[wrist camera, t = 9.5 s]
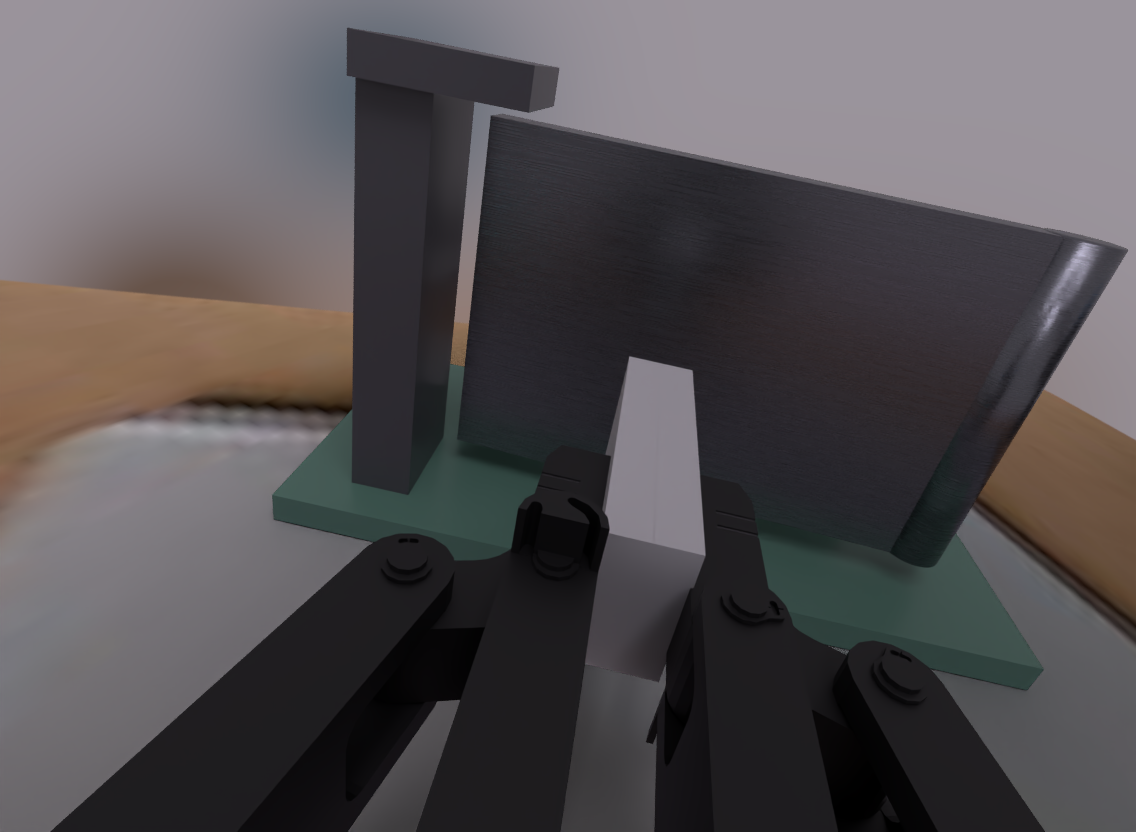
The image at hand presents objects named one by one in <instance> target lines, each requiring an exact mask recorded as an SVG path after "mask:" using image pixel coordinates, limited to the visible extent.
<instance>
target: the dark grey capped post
mask: <svg viewBox="0 0 1136 832" xmlns="http://www.w3.org/2000/svg"><path fill="white" fill-rule="evenodd" d="M558 73H559V68H557V67H552V66H547V65H542V64H537V63H531V62H527V61H522V60H517V59H512V58H507V57H502V56H497V55H493V54H487V53H483V52H478V51H474V50H469V49H464V48H459V47H454V46H449V45H444V44H439V43H434V42H429V41H424V40H419V39H414V38H409V37H402V36H396V35H390V34H384V33H377V32H371V31H365V30H359V29H352V28H347V76H352V77H356V92H355V97H356V98H355V195H354V198H355V199H354V203H355V204H354V299H353V305H354V306H353V403H352V483H356V484H361V485H365V486H370V487H374V488H379V489H383V490H387V491H392V492H396V493H401V494H405V495H409V493H410V491H411V490H412V488H413V486H414V485H415V483H416V481H417V480H418V478H419V476H420V475H421V473H422V472H423V470H424V468H425V467H426V465H427V463H428V462H429V460H430V458H431V457H432V455H433V453H434V452H435V450H436V449H437V447H438V445H439V444H440V442H441V440H442V439H443V436H444V425H445V414H446V403H447V392H448V382H449V371H450V360H451V349H452V338H453V327H454V316H455V306H456V295H457V284H458V273H459V262H460V251H461V241H462V230H463V219H464V208H465V197H466V186H467V175H468V163H469V154H470V143H471V132H472V121H473V111H474V102H479V103H484V104H489V105H494V106H499V107H504V108H508V109H513V110H518V111H523V112H528V113H529V112H533V111H537V110H541V109H545V108H549V107H552V106H554V101H555V94H556V87H557V80H558Z"/></svg>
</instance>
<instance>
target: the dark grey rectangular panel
mask: <svg viewBox="0 0 1136 832" xmlns="http://www.w3.org/2000/svg"><path fill="white" fill-rule="evenodd" d="M1127 252H1128V249H1126V248H1124V247H1121V246H1118V245H1115V244H1112V243H1109V242H1105V241H1102V240H1098V239H1094V238H1091V237H1086V236H1083V235H1078V234H1074V233H1070V232H1065V231H1060V230H1054V229H1048V228H1040V227H1035V226H1030V225H1025V224H1021V223H1016V222H1011V221H1007V220H1002V219H997V218H992V217H987V216H983V215H978V214H974V213H969V212H964V211H959V210H955V209H950V208H945V207H940V206H935V205H931V204H926V203H922V202H917V201H911V200H907V199H903V198H898V197H893V196H888V195H884V194H879V193H874V192H869V191H865V190H860V189H855V188H851V187H846V186H841V185H836V184H831V183H827V182H822V181H817V180H812V179H808V178H803V177H799V176H794V175H789V174H784V173H780V172H775V171H770V170H765V169H761V168H756V167H751V166H746V165H742V164H737V163H732V162H728V161H723V160H718V159H713V158H709V157H704V156H699V155H694V154H690V153H685V152H680V151H676V150H671V149H666V148H661V147H657V146H652V145H647V144H642V143H638V142H633V141H628V140H623V139H619V138H614V137H609V136H604V135H600V134H595V133H590V132H586V131H581V130H576V129H571V128H567V127H562V126H557V125H553V124H547V123H543V122H538V121H533V120H529V119H524V118H519V117H515V116H510V115H505V114H499V115H492V116H491V120H490V129H489V139H488V149H487V158H486V167H485V177H484V187H483V196H482V205H481V215H480V225H479V234H478V244H477V253H476V263H475V273H474V282H473V291H472V301H471V311H470V320H469V330H468V339H467V349H466V358H465V368H464V377H463V387H462V396H461V406H460V415H459V425H458V434H457V440H461V441H465V442H468V443H472V444H476V445H480V446H484V447H488V448H491V449H495V450H499V451H503V452H507V453H511V454H514V455H518V456H522V457H526V458H530V459H534V460H537V461H541V462H545V461H546V458H547V456H548V455H549V454H550V453H552V452H553V451H554V450H556V449H557V448H558V447H560V446H561V445H565V446H570V447H574V448H578V449H583V450H587V451H591V452H596V453H600V454H604V455H605V454H606V450H607V446H608V442H609V438H610V434H611V430H612V426H613V421H614V417H615V413H616V409H617V405H618V401H619V397H620V393H621V389H622V385H623V381H624V376H625V372H626V368H627V364H628V360H629V356H630V357H635V358H639V359H644V360H648V361H653V362H657V363H662V364H666V365H671V366H675V367H680V368H684V369H689V370H693V384H694V399H695V413H696V427H697V441H698V456H699V470H700V475H704V476H708V477H713V478H717V479H721V480H726V481H730V482H734V483H739V485H740V486H741V487H742V489H743V490H744V491H745V493H746V494H747V495H748V497H749V498H750V499H751V501H752V503H753V508H754V514H755V517H756V518H760V519H763V520H767V521H771V522H775V523H779V524H783V525H786V526H790V527H794V528H798V529H802V530H805V531H809V532H813V533H817V534H821V535H825V536H828V537H832V538H836V539H840V540H844V541H848V542H851V543H855V544H859V545H863V546H867V547H871V548H874V549H878V550H882V551H886V552H890V553H891V554H892V555H894V556H895V557H897V558H898V559H900V560H902V561H904V562H906V563H908V564H911V565H914V566H918V567H924V568H929V567H933V566H935V565H937V563H938V562H939V560H940V558H941V557H942V555H943V553H944V552H945V550H946V548H947V547H948V545H949V544H950V542H951V540H952V539H953V537H954V535H955V534H956V532H957V530H958V529H959V527H960V526H961V524H962V522H963V521H964V519H965V517H966V516H967V514H968V512H969V511H970V509H971V507H972V506H973V504H974V503H975V501H976V499H977V498H978V496H979V494H980V493H981V491H982V489H983V488H984V486H985V485H986V483H987V481H988V480H989V478H990V476H991V475H992V473H993V471H994V470H995V468H996V466H997V465H998V463H999V462H1000V460H1001V458H1002V457H1003V455H1004V453H1005V452H1006V450H1007V448H1008V447H1009V445H1010V444H1011V442H1012V440H1013V439H1014V437H1015V435H1016V434H1017V432H1018V430H1019V429H1020V427H1021V425H1022V424H1023V422H1024V421H1025V419H1026V417H1027V416H1028V414H1029V412H1030V411H1031V409H1032V407H1033V406H1034V404H1035V403H1036V401H1037V399H1038V398H1039V396H1040V394H1041V393H1042V391H1043V389H1044V388H1045V386H1046V384H1047V383H1048V381H1049V380H1050V378H1051V376H1052V375H1053V373H1054V371H1055V370H1056V368H1057V366H1058V365H1059V363H1060V361H1061V360H1062V358H1063V357H1064V355H1065V353H1066V351H1067V350H1068V348H1069V347H1070V345H1071V343H1072V342H1073V340H1074V339H1075V337H1076V335H1077V334H1078V332H1079V330H1080V329H1081V327H1082V325H1083V324H1084V322H1085V321H1086V319H1087V317H1088V316H1089V314H1090V312H1091V311H1092V309H1093V307H1094V306H1095V304H1096V302H1097V301H1098V299H1099V297H1100V296H1101V294H1102V293H1103V291H1104V289H1105V288H1106V286H1107V284H1108V283H1109V281H1110V280H1111V278H1112V276H1113V275H1114V273H1115V271H1116V270H1117V268H1118V266H1119V265H1120V263H1121V261H1122V260H1123V258H1124V256H1125V255H1126V253H1127Z"/></svg>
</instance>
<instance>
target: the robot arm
mask: <svg viewBox="0 0 1136 832" xmlns="http://www.w3.org/2000/svg"><path fill="white" fill-rule="evenodd" d="M585 664H587V665H591V666H595V667H599V668H603V669H607V670H611V671H615V672H619V673H624V674H628V675H632V676H636V677H640V678H644V679H648V680H652V681H656V682H659V680H660V677H661V674H662V672H663V669H664V666H665V664H666V687H665V690H664V692H663V695H662V698H661V700H660V703H659V706H658V708H657V711H656V713H655V716H654V719H653V721H652V724H651V726H650V729H649V733H648V736H647V740H646V742H647V743H651V744H653V742H654V740H655V737H656V734H657V751H656V789H655V827H654V832H1045V831H1044V829H1043V828H1042V827H1041V825H1040V824H1039V822H1038V821H1037V819H1036V818H1035V816H1034V815H1033V814H1032V812H1031V811H1030V809H1029V808H1028V806H1027V805H1026V803H1025V802H1024V800H1023V799H1022V798H1021V796H1020V795H1019V793H1018V792H1017V790H1016V789H1015V787H1014V786H1013V785H1012V783H1011V782H1010V780H1009V779H1008V777H1007V776H1006V774H1005V773H1004V772H1003V770H1002V769H1001V767H1000V766H999V764H998V763H997V761H996V760H995V759H994V757H993V756H992V754H991V753H990V751H989V750H988V748H987V747H986V746H985V744H984V743H983V741H982V740H981V738H980V737H979V735H978V734H977V732H976V731H975V730H974V728H973V727H972V725H971V724H970V722H969V721H968V719H967V718H966V717H965V715H964V714H963V712H962V711H961V709H960V708H959V706H958V705H957V704H956V702H955V701H954V699H953V698H952V696H951V695H950V693H949V692H948V691H947V689H946V688H945V686H944V685H943V683H942V682H941V681H940V680H939V679H938V677H937V676H936V675H935V674H934V673H933V672H932V671H931V670H930V668H929V667H928V666H927V665H925V664H924V663H923V662H921V661H920V660H919V659H917V658H916V657H914V656H913V655H912V654H910V653H909V652H907V651H904V650H902V649H900V648H898V647H896V646H894V645H892V644H888V643H883V642H878V641H874V640H872V641H865V642H859V643H857V644H856V645H855V646H854V647H853V648H851V649H850V650H849V652H848V654H847V655H845V654H843V653H841V652H839V651H837V650H835V649H833V648H831V647H829V646H826V645H824V644H822V643H820V642H818V641H816V640H814V639H812V638H811V637H809V636H807V635H806V634H804V633H802V632H801V631H799V630H798V629H797V628H795V627H794V626H793V622H792V618H791V616H790V614H789V611H788V609H787V607H786V605H785V604H784V603H783V602H782V601H781V599H780V598H779V597H778V596H777V595H776V594H775V593H774V592H773V591H771V590H770V589H769V587H768V582H767V577H766V572H765V566H764V561H763V556H762V551H761V545H760V540H759V538H758V529H757V524H756V523H755V514H754V508H753V503H752V501H751V499H750V498H749V497H748V495H747V494H746V493H745V491H744V490H743V489H742V487H741V486H740V485H739V483H734V482H730V481H726V480H721V479H717V478H713V477H708V476H704V475H700V470H699V456H698V441H697V427H696V413H695V399H694V384H693V370H689V369H684V368H680V367H675V366H671V365H666V364H662V363H657V362H653V361H648V360H644V359H639V358H635V357H630V356H629V360H628V364H627V368H626V372H625V376H624V381H623V385H622V389H621V393H620V397H619V401H618V405H617V409H616V413H615V417H614V421H613V426H612V430H611V434H610V438H609V442H608V446H607V450H606V454H605V455H604V454H600V453H596V452H591V451H587V450H583V449H578V448H574V447H570V446H565V445H561V446H560V447H558V448H557V449H556V450H554V451H553V452H552V453H550V454H549V455H548V456H547V458H546V461H545V464H544V467H543V470H542V473H541V476H540V479H539V482H538V485H537V488H536V491H535V494H533V495H531V496H529V497H527V498H525V499H524V501H523V502H522V503H521V505H520V506H519V507H518V512H517V518H516V524H515V529H514V535H513V541H512V547H511V549H510V550H508V551H506V552H505V553H503V554H501V555H499V556H496V557H492V558H489V559H482V560H454V557H453V556H452V554H451V553H450V551H449V550H448V548H447V547H446V546H445V545H443V544H442V543H440V542H439V541H437V540H436V539H434V538H432V537H428V536H424V535H420V534H417V533H398V534H395V535H391V536H387V537H383V538H380V539H379V540H377V541H376V542H374V543H372V544H371V545H369V546H368V547H366V548H365V549H364V550H363V551H362V552H361V553H360V554H359V555H357V556H356V557H355V558H354V559H353V560H352V561H351V562H350V563H349V564H347V565H346V566H345V567H344V568H343V569H342V570H341V571H340V572H339V573H337V574H336V575H335V576H334V577H333V578H332V579H331V580H330V581H329V582H327V583H326V584H325V585H324V586H323V587H322V588H321V589H320V590H319V591H317V592H316V593H315V594H314V595H313V596H312V597H311V598H310V599H309V600H307V601H306V602H305V603H304V604H303V605H302V606H301V607H300V608H299V609H297V610H296V611H295V612H294V613H293V614H292V615H291V616H290V617H288V618H287V619H286V620H285V621H284V622H283V623H282V624H281V625H280V626H278V627H277V628H276V629H275V630H274V631H273V632H272V633H271V634H270V635H268V636H267V637H266V638H265V639H264V640H263V641H262V642H261V643H260V644H258V645H257V646H256V647H255V648H254V649H253V650H252V651H251V652H250V653H248V654H247V655H246V656H245V657H244V658H243V659H242V660H241V661H240V662H238V663H237V664H236V665H235V666H234V667H233V668H232V669H231V670H230V671H228V672H227V673H226V674H225V675H224V676H223V677H222V678H221V679H220V680H218V681H217V682H216V683H215V684H214V685H213V686H212V687H211V688H210V689H208V690H207V691H206V692H205V693H204V694H203V695H202V696H201V697H200V698H198V699H197V700H196V701H195V702H194V703H193V704H192V705H191V706H190V707H188V708H187V709H186V710H185V711H184V712H183V713H182V714H181V715H180V716H178V717H177V718H176V719H175V720H174V721H173V722H172V723H171V724H170V725H168V726H167V727H166V728H165V729H164V730H163V731H162V732H161V733H160V734H158V735H157V736H156V737H155V738H154V739H153V740H152V741H151V742H150V743H148V744H147V745H146V746H145V747H144V748H143V749H142V750H141V751H139V752H138V753H137V754H136V755H135V756H134V757H133V758H132V759H131V760H129V761H128V762H127V763H126V764H125V765H124V766H123V767H122V768H121V769H119V770H118V771H117V772H116V773H115V774H114V775H113V776H112V777H111V778H109V779H108V780H107V781H106V782H105V783H104V784H103V785H102V786H101V787H99V788H98V789H97V790H96V791H95V792H94V793H93V794H92V795H91V796H89V797H88V798H87V799H86V800H85V801H84V802H83V803H82V804H81V805H79V806H78V807H77V808H76V809H75V810H74V811H73V812H72V813H71V814H69V815H68V816H67V817H66V818H65V819H64V820H63V821H62V822H61V823H59V824H58V825H57V826H56V827H55V828H54V829H53V830H52V831H51V832H348V830H349V829H350V827H351V826H352V825H353V823H354V822H355V820H356V819H357V817H358V816H359V814H360V813H361V812H362V810H363V809H364V807H365V806H366V804H367V803H368V802H369V800H370V799H371V797H372V796H373V794H374V793H375V792H376V790H377V789H378V787H379V786H380V784H381V783H382V781H383V780H384V779H385V777H386V776H387V774H388V773H389V771H390V770H391V769H392V767H393V766H394V764H395V763H396V761H397V760H398V758H399V757H400V756H401V754H402V753H403V751H404V750H405V748H406V747H407V746H408V744H409V743H410V741H411V740H412V738H413V737H414V736H415V734H416V733H417V731H418V730H419V728H420V727H421V725H422V724H423V723H424V721H425V720H426V718H427V717H428V715H429V714H430V713H431V711H432V710H433V708H434V707H435V704H436V702H437V701H449V700H460V703H459V706H458V709H457V712H456V715H455V718H454V721H453V724H452V727H451V729H450V732H449V735H448V738H447V741H446V744H445V747H444V750H443V753H442V756H441V759H440V762H439V765H438V768H437V771H436V774H435V777H434V780H433V783H432V786H431V789H430V792H429V794H428V797H427V800H426V803H425V806H424V809H423V812H422V815H421V818H420V821H419V824H418V827H417V830H416V832H560V830H561V823H562V817H563V810H564V803H565V796H566V789H567V782H568V776H569V769H570V762H571V755H572V748H573V741H574V735H575V728H576V721H577V714H578V707H579V700H580V694H581V687H582V680H583V673H584V666H585Z"/></svg>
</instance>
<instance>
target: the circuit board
mask: <svg viewBox="0 0 1136 832" xmlns="http://www.w3.org/2000/svg"><path fill="white" fill-rule="evenodd" d="M464 368H465V367H463V366H458V365H453V364H450V371H449V382H448V392H447V403H446V414H445V425H444V436H443V439H442V440H441V442H440V444H439V445H438V447H437V449H436V450H435V452H434V453H433V455H432V457H431V458H430V460H429V462H428V463H427V465H426V467H425V468H424V470H423V472H422V473H421V475H420V476H419V478H418V480H417V481H416V483H415V485H414V486H413V488H412V490H411V491H410V493H409V495H405V494H401V493H396V492H392V491H387V490H383V489H379V488H374V487H370V486H365V485H361V484H356V483H352V410H351V411H350V412H349V413H348V414H347V415H346V417H345V418H344V419H343V420H342V421H341V422H340V423H339V424H338V425H337V426H336V427H335V428H334V429H333V430H332V431H331V433H330V434H329V435H328V436H327V437H326V438H325V439H324V440H323V441H322V442H321V443H320V444H319V445H318V446H317V448H316V449H315V450H314V451H313V452H312V453H311V454H310V455H309V456H308V457H307V458H306V459H305V460H304V461H303V463H302V464H301V465H300V466H299V467H298V468H297V469H296V470H295V471H294V472H293V473H292V474H291V475H290V476H289V478H288V479H287V480H286V481H285V482H284V483H283V484H282V485H281V486H280V487H279V488H278V489H277V490H276V491H275V493H274V494H273V495H272V499H273V514H274V519H276V520H280V521H285V522H289V523H293V524H298V525H302V526H307V527H311V528H315V529H320V530H324V531H329V532H333V533H337V534H342V535H346V536H351V537H355V538H359V539H364V540H368V541H373V542H376V541H377V540H379V539H380V538H383V537H387V536H391V535H395V534H398V533H417V534H420V535H424V536H428V537H432V538H434V539H436V540H437V541H439V542H440V543H442V544H443V545H445V546H446V547H447V548H448V550H449V551H450V553H451V554H452V556H453V557H454V560H482V559H489V558H492V557H496V556H499V555H501V554H503V553H505V552H506V551H508V550H510V549H511V547H512V541H513V535H514V529H515V524H516V518H517V512H518V507H519V506H520V505H521V503H522V502H523V501H524V499H525V498H527V497H529V496H531V495H533V494H535V491H536V488H537V485H538V482H539V479H540V476H541V473H542V470H543V467H544V464H545V462H541V461H537V460H534V459H530V458H526V457H522V456H518V455H514V454H511V453H507V452H503V451H499V450H495V449H491V448H488V447H484V446H480V445H476V444H472V443H468V442H465V441H461V440H457V434H458V425H459V415H460V406H461V396H462V387H463V377H464ZM755 523H756V524H757V529H758V538H759V540H760V545H761V551H762V556H763V561H764V566H765V572H766V577H767V582H768V587H769V589H770V590H771V591H773V592H774V593H775V594H776V595H777V596H778V597H779V598H780V599H781V601H782V602H783V603H784V604H785V605H786V607H787V609H788V611H789V614H790V616H791V618H792V622H793V626H794V627H795V628H797V629H798V630H799V631H801V632H802V633H804V634H806V635H807V636H809V637H811V638H812V639H814V640H816V641H818V642H820V643H822V644H826V645H830V646H835V647H839V648H844V649H848V650H850V649H851V648H853V647H854V646H855V645H856V644H857V643H859V642H865V641H872V640H874V641H878V642H883V643H888V644H892V645H894V646H896V647H898V648H900V649H902V650H904V651H907V652H909V653H910V654H912V655H913V656H914V657H916V658H917V659H919V660H920V661H921V662H923V663H924V664H925V665H927V666H928V667H929V668H932V669H936V670H940V671H945V672H949V673H954V674H958V675H962V676H967V677H971V678H976V679H980V680H984V681H989V682H993V683H998V684H1002V685H1006V686H1011V687H1015V688H1020V689H1024V690H1028V689H1029V687H1030V686H1031V685H1032V684H1033V682H1034V681H1035V680H1036V679H1037V677H1038V676H1039V675H1040V674H1041V672H1042V671H1043V670H1044V669H1043V667H1042V666H1041V664H1040V662H1039V661H1038V659H1037V658H1036V656H1035V655H1034V653H1033V652H1032V650H1031V649H1030V647H1029V645H1028V644H1027V642H1026V641H1025V639H1024V638H1023V636H1022V635H1021V633H1020V632H1019V630H1018V628H1017V627H1016V625H1015V624H1014V622H1013V621H1012V619H1011V618H1010V616H1009V615H1008V613H1007V611H1006V610H1005V608H1004V607H1003V605H1002V604H1001V602H1000V601H999V599H998V598H997V596H996V594H995V593H994V591H993V590H992V588H991V587H990V585H989V584H988V582H987V580H986V579H985V577H984V576H983V574H982V573H981V571H980V570H979V568H978V567H977V565H976V563H975V562H974V560H973V559H972V557H971V556H970V554H969V553H968V551H967V550H966V548H965V546H964V545H963V543H962V542H961V540H960V539H959V537H958V536H957V534H955V535H954V537H953V539H952V540H951V542H950V544H949V545H948V547H947V548H946V550H945V552H944V553H943V555H942V557H941V558H940V560H939V562H938V563H937V565H935V566H933V567H929V568H924V567H918V566H914V565H911V564H908V563H906V562H904V561H902V560H900V559H898V558H897V557H895V556H894V555H892V554H891V553H890V552H886V551H882V550H878V549H874V548H871V547H867V546H863V545H859V544H855V543H851V542H848V541H844V540H840V539H836V538H832V537H828V536H825V535H821V534H817V533H813V532H809V531H805V530H802V529H798V528H794V527H790V526H786V525H783V524H779V523H775V522H771V521H767V520H763V519H760V518H756V517H755Z"/></svg>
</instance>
